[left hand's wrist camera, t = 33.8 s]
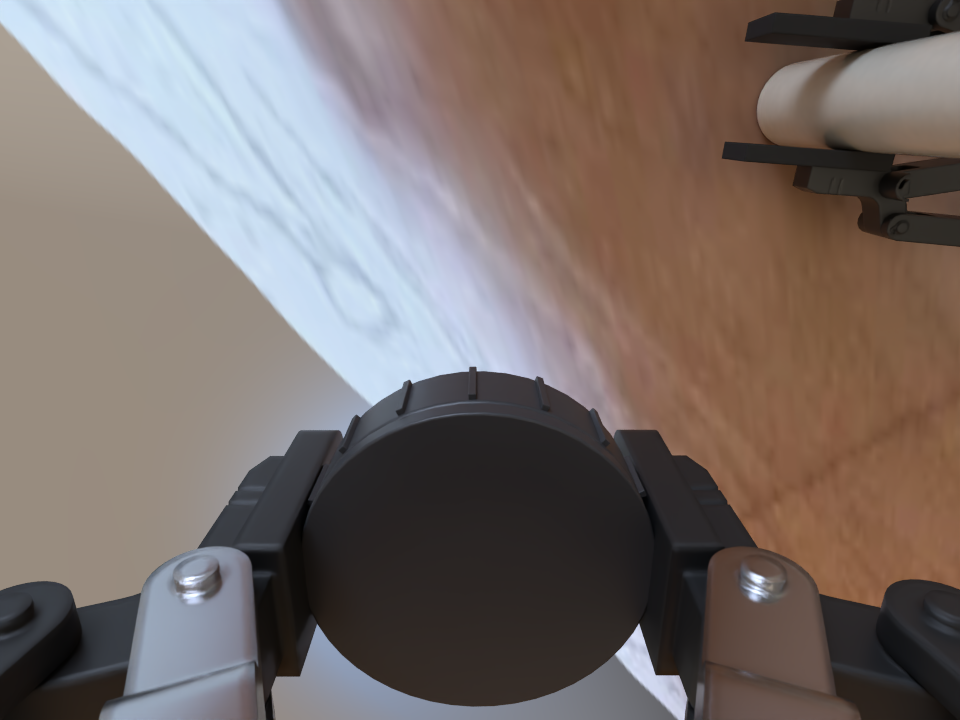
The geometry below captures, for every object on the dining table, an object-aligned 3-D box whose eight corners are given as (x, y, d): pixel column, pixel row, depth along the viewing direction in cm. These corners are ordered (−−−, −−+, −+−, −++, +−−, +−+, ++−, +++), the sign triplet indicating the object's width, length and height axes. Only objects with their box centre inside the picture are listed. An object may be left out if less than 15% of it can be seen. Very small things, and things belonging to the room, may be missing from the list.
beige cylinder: (821, 151, 35) (1149, 177, 18) (746, 141, 34) (1007, 156, 18) (846, 68, 33) (1231, 9, 16) (769, 56, 33) (1078, -16, 16)
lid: (519, 301, 9) (527, 334, 8) (690, 542, 11) (725, 609, 9) (256, 480, 10) (219, 539, 9) (445, 677, 12) (441, 755, 10)
